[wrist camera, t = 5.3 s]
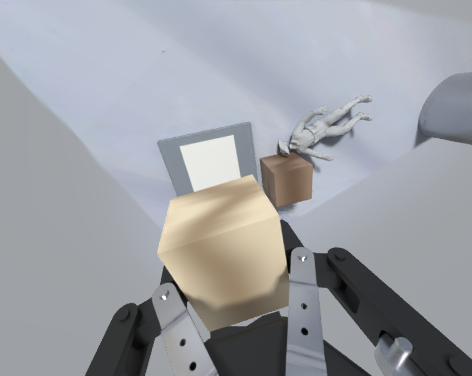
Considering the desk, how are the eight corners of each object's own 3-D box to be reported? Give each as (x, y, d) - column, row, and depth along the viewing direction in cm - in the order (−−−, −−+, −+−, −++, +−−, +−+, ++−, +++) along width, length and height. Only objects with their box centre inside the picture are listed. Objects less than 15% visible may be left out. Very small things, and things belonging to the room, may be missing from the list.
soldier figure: (373, 139, 26) (302, 182, 25) (345, 133, 30) (283, 170, 29) (373, 81, 22) (288, 131, 21) (340, 83, 26) (268, 124, 25)
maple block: (252, 174, 13) (279, 214, 9) (268, 249, 17) (293, 304, 13) (171, 199, 13) (157, 253, 9) (206, 270, 17) (209, 332, 12)
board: (248, 121, 25) (251, 123, 23) (257, 191, 30) (259, 195, 29) (158, 140, 24) (156, 143, 23) (184, 209, 29) (183, 214, 28)
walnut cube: (291, 151, 28) (312, 164, 23) (292, 180, 30) (311, 198, 25) (259, 158, 28) (274, 174, 22) (262, 187, 30) (276, 207, 25)
